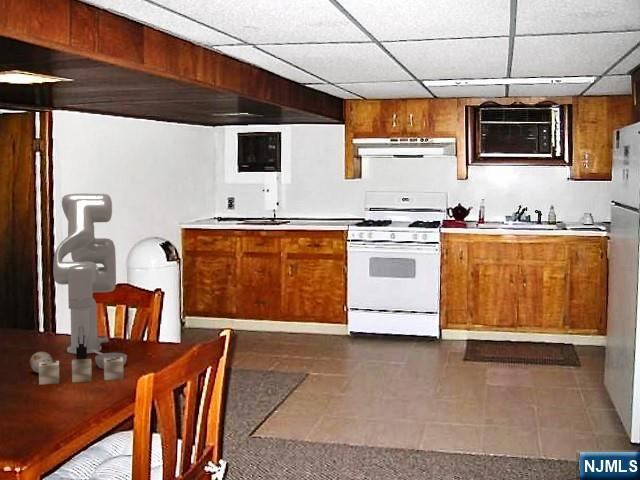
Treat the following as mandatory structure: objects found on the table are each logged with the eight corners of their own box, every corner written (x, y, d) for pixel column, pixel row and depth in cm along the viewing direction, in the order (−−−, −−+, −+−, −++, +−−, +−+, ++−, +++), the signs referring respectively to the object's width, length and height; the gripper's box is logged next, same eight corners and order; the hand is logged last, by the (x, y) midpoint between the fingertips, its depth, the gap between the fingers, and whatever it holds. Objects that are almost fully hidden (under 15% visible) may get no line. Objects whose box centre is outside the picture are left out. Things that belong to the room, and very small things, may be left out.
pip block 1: (59, 378, 251) (59, 360, 250) (59, 383, 245) (58, 364, 244) (40, 380, 249) (39, 361, 248) (39, 384, 243) (38, 365, 243)
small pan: (105, 371, 260) (105, 360, 260) (78, 362, 272) (78, 351, 272) (133, 366, 268) (133, 355, 267) (105, 357, 280) (105, 347, 280)
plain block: (91, 376, 254) (91, 358, 253) (91, 381, 248) (91, 363, 247) (72, 377, 252) (72, 359, 251) (72, 382, 246) (71, 364, 246)
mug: (36, 380, 249) (26, 352, 251) (36, 386, 257) (28, 358, 260) (59, 372, 252) (49, 344, 254) (59, 378, 260) (50, 351, 263)
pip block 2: (122, 374, 256) (122, 356, 256) (123, 379, 251) (123, 360, 250) (104, 375, 255) (103, 357, 254) (104, 380, 249) (104, 361, 248)
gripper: (68, 299, 254) (69, 353, 256) (68, 308, 240) (69, 365, 241) (92, 298, 256) (93, 352, 258) (93, 307, 242) (94, 363, 244)
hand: (81, 358), depth 250 cm, fingers closed
